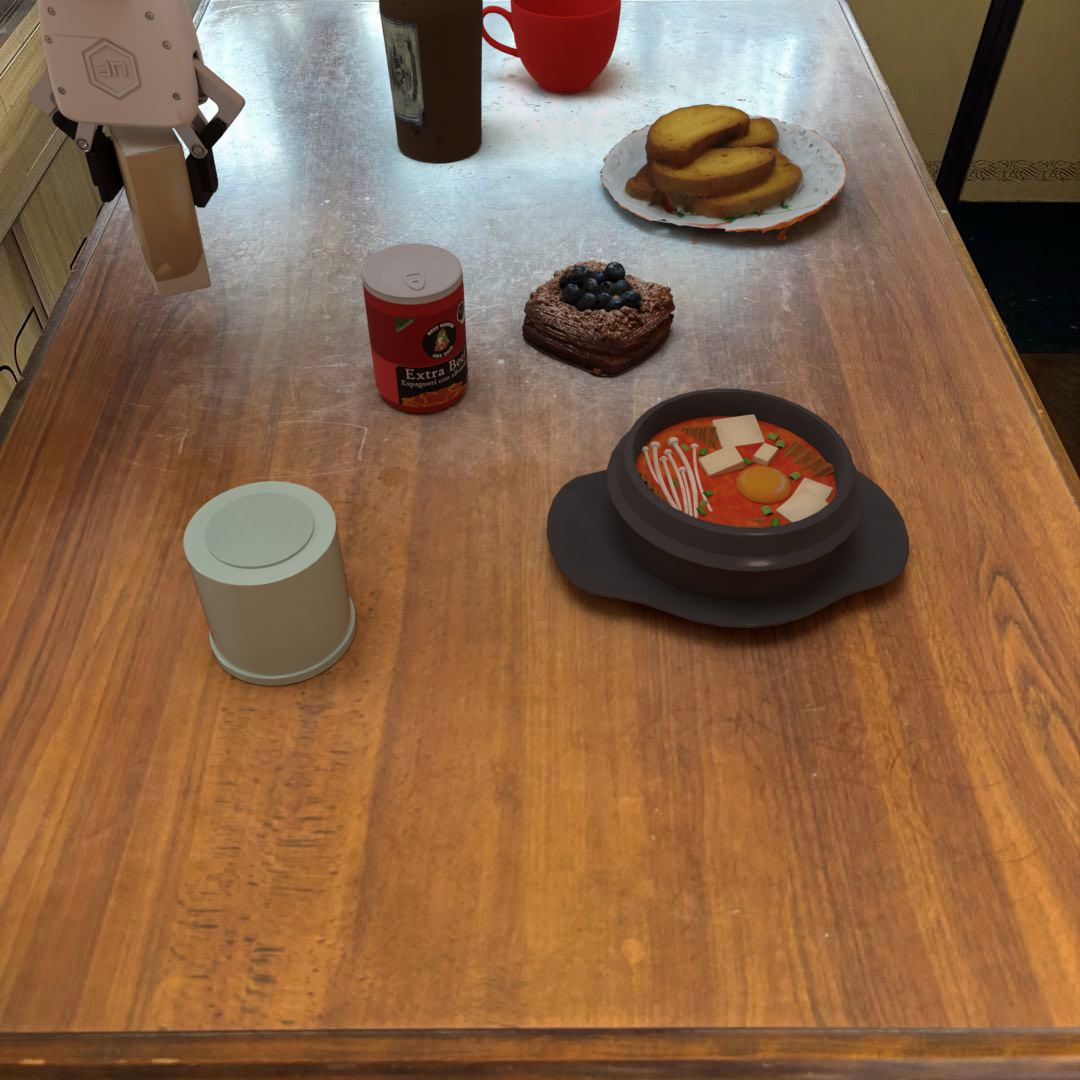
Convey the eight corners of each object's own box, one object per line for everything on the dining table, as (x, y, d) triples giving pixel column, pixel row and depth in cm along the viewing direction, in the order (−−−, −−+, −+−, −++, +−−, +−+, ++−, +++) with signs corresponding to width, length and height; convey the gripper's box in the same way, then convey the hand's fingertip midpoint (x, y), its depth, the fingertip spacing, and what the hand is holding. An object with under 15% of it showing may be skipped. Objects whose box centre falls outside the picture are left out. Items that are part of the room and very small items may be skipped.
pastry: (617, 387, 91) (620, 327, 87) (503, 337, 96) (501, 278, 92) (687, 328, 97) (693, 269, 93) (577, 284, 103) (578, 226, 98)
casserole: (555, 655, 71) (556, 563, 65) (538, 467, 84) (539, 376, 78) (938, 639, 72) (974, 547, 66) (862, 455, 85) (886, 365, 79)
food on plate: (840, 260, 106) (854, 196, 101) (584, 237, 109) (585, 174, 104) (839, 144, 123) (850, 85, 119) (618, 127, 127) (621, 69, 122)
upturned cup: (192, 681, 69) (157, 580, 63) (233, 573, 76) (205, 472, 69) (340, 690, 69) (320, 589, 62) (368, 581, 75) (352, 480, 69)
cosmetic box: (141, 264, 92) (104, 120, 84) (193, 253, 94) (162, 110, 85) (160, 301, 88) (123, 154, 80) (214, 289, 90) (183, 143, 81)
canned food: (404, 427, 87) (391, 307, 80) (359, 377, 92) (342, 260, 84) (487, 395, 90) (482, 277, 83) (438, 348, 95) (430, 232, 87)
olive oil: (455, 116, 129) (442, -127, 111) (505, 150, 123) (500, -103, 105) (375, 139, 124) (349, -111, 107) (423, 175, 118) (403, -84, 101)
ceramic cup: (483, 61, 141) (480, -23, 134) (616, 63, 140) (620, -21, 133) (475, 103, 131) (471, 16, 124) (617, 106, 131) (622, 18, 124)
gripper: (-51, -42, 71) (31, 213, 84) (212, -30, 71) (256, 226, 83) (-1, -75, 77) (69, 169, 89) (244, -64, 76) (280, 181, 89)
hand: (159, 195), depth 86 cm, fingers closed on cosmetic box, 6 cm apart
